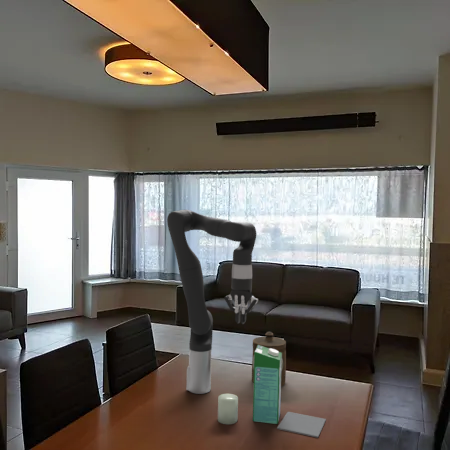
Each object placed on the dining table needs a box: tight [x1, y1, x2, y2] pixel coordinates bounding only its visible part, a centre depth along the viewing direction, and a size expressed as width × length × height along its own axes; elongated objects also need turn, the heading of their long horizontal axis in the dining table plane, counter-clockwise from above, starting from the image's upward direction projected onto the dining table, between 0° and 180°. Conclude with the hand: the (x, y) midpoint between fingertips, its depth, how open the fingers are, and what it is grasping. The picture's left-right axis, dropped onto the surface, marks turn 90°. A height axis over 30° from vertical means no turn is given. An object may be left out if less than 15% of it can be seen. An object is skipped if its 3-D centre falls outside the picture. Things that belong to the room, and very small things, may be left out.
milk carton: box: [252, 345, 282, 425], centre depth 163 cm, size 9×9×25 cm
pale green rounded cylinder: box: [217, 393, 239, 425], centre depth 160 cm, size 7×7×8 cm
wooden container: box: [251, 331, 287, 387], centre depth 198 cm, size 15×15×22 cm
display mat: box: [276, 411, 327, 439], centre depth 158 cm, size 14×14×1 cm
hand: (240, 323), depth 167 cm, fingers closed
